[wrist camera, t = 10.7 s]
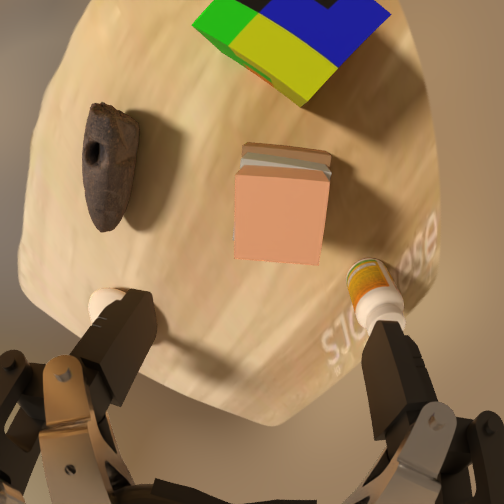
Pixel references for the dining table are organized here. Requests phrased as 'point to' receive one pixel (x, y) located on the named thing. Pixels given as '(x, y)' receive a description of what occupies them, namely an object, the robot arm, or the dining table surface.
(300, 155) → the tower base
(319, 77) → the puzzle toy
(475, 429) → the robot arm
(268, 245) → the clay block
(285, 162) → the tower top
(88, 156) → the perforated stone tool
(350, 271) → the supplement bottle
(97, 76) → the dining table surface
